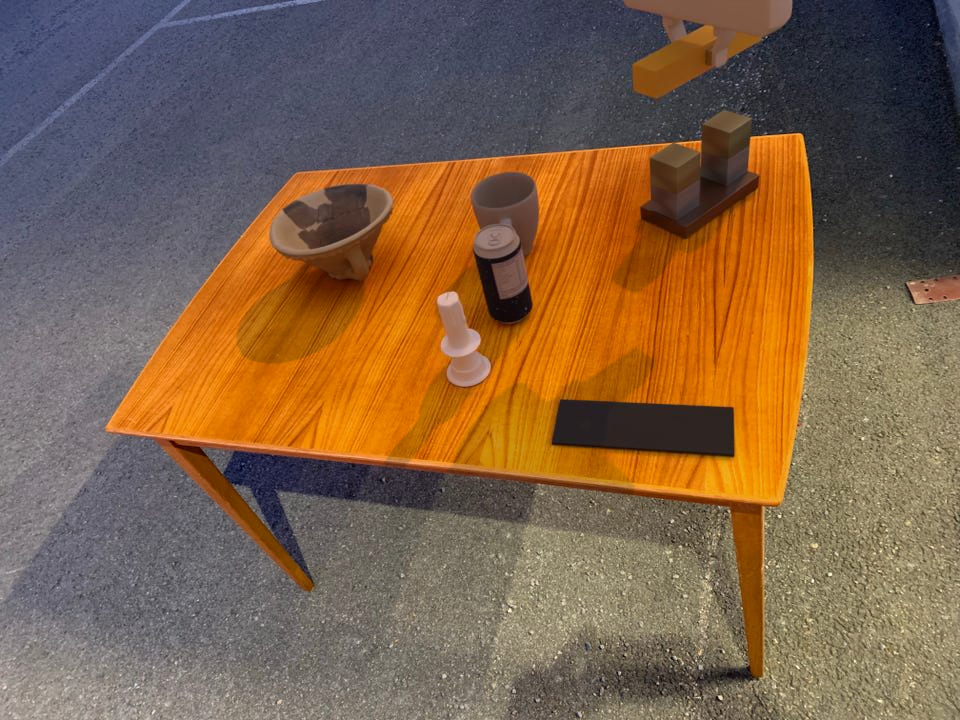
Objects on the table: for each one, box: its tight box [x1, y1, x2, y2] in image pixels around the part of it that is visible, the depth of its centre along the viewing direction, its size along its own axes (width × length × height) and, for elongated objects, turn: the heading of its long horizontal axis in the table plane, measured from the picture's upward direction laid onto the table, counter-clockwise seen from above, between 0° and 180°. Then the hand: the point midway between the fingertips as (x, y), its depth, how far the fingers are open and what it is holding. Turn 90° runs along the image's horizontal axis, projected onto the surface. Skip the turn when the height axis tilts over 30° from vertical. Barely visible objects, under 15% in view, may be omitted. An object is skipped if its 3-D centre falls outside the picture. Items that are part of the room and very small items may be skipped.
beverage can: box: [472, 224, 534, 325], centre depth 85 cm, size 6×6×12 cm
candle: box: [436, 291, 492, 388], centre depth 79 cm, size 5×5×12 cm
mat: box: [551, 398, 736, 458], centre depth 72 cm, size 18×6×1 cm, turn 77°
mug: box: [470, 171, 540, 257], centre depth 94 cm, size 12×9×10 cm
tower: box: [639, 109, 761, 240], centre depth 94 cm, size 8×15×10 cm, turn 128°
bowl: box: [268, 183, 394, 282], centre depth 100 cm, size 18×18×10 cm
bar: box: [631, 25, 763, 99], centre depth 75 cm, size 4×16×3 cm, turn 125°
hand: (698, 60), depth 76 cm, fingers closed on bar, 3 cm apart
